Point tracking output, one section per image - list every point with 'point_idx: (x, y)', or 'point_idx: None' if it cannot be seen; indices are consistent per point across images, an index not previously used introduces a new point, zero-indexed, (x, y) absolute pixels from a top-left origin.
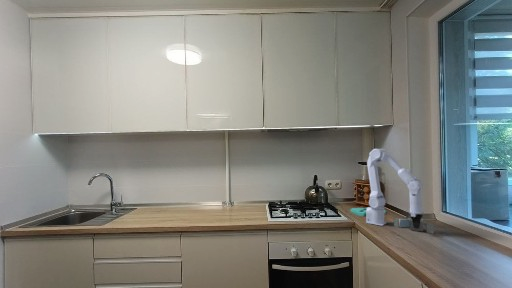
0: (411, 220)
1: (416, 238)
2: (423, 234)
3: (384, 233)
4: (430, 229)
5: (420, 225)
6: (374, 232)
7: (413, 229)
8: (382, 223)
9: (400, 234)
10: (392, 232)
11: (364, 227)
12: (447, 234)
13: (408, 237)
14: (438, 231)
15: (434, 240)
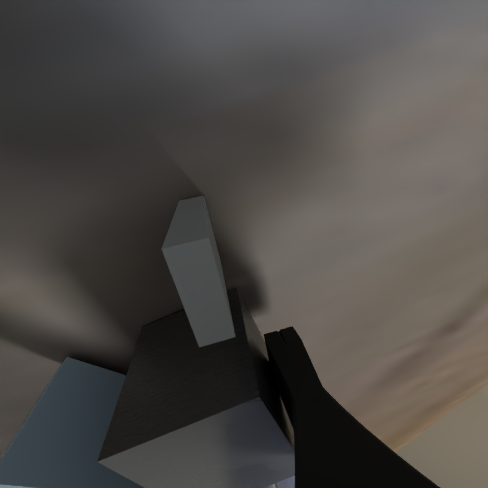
0: (288, 469)
1: (479, 225)
2: (321, 245)
3: (454, 372)
4: (214, 243)
5: (256, 356)
6: (459, 396)
7: (266, 350)
8: (289, 478)
9: (429, 328)
10: (410, 368)
11: (395, 452)
12: (35, 24)
13: (477, 270)
14: (16, 196)
15: (476, 82)
